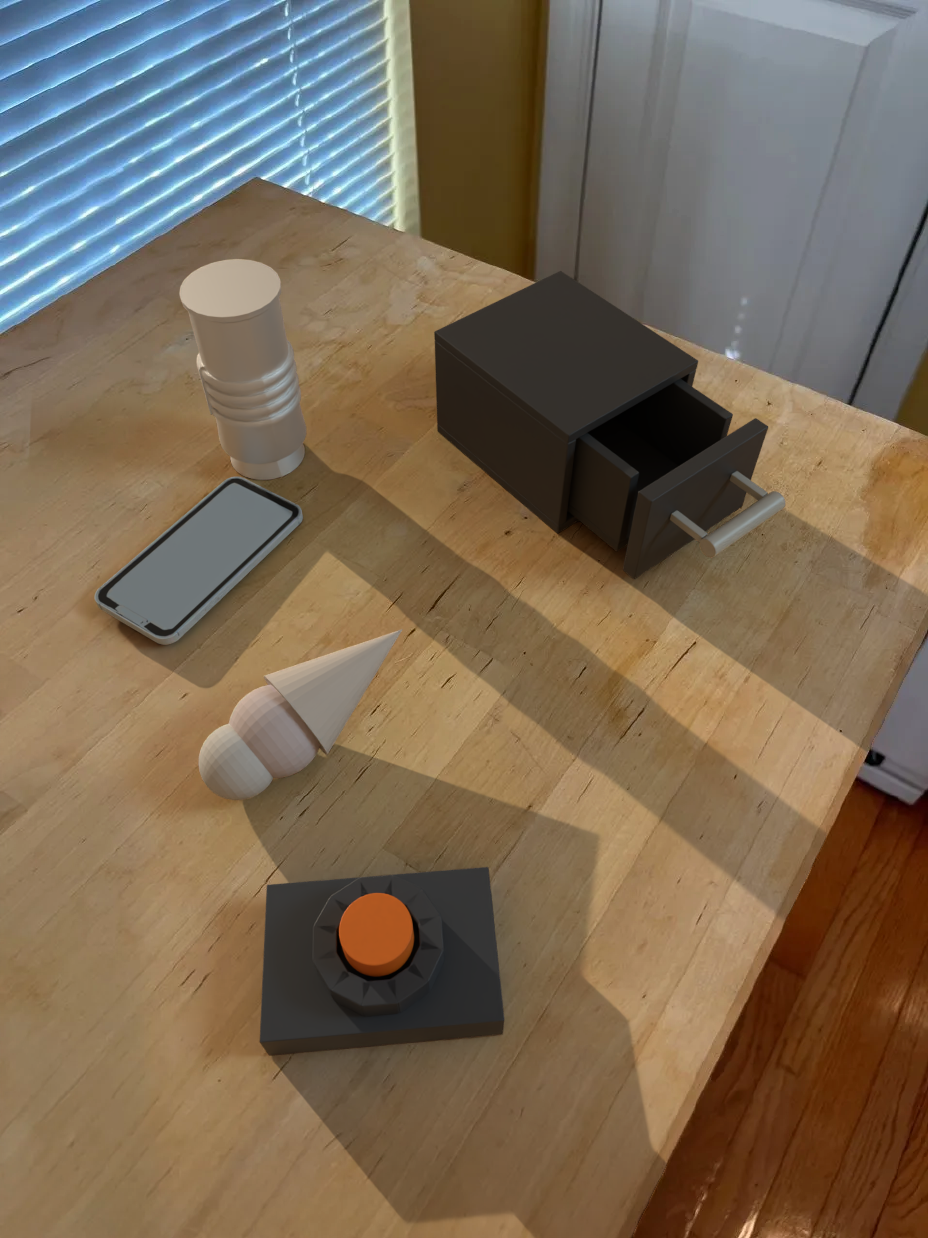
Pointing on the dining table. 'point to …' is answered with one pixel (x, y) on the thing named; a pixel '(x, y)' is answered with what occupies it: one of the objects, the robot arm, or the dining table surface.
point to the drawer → (669, 478)
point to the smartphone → (198, 560)
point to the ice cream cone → (289, 719)
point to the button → (376, 934)
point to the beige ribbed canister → (247, 365)
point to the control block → (385, 1005)
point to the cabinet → (544, 384)
